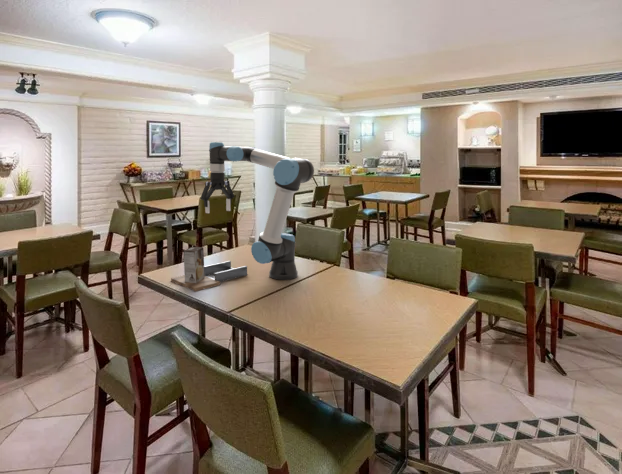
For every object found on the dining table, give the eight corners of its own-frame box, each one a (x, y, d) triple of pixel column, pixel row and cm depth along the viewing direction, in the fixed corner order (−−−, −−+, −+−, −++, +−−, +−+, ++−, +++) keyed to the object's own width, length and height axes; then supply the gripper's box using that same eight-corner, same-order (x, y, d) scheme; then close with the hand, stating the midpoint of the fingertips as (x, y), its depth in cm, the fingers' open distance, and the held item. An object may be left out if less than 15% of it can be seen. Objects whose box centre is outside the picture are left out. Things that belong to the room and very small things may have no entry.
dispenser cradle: (247, 275, 222) (247, 266, 221) (216, 283, 207) (215, 273, 206) (229, 269, 231) (229, 260, 230) (199, 276, 217) (198, 267, 216)
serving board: (220, 284, 205) (220, 281, 204) (195, 291, 194) (195, 288, 194) (195, 275, 219) (195, 272, 219) (171, 281, 209) (170, 278, 208)
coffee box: (193, 276, 211) (192, 246, 208) (204, 278, 210) (204, 247, 207) (184, 282, 202) (183, 250, 199) (196, 283, 201) (195, 251, 198)
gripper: (231, 171, 230) (232, 209, 234) (192, 172, 211) (194, 213, 216) (240, 171, 225) (240, 210, 229) (201, 172, 206) (202, 214, 211)
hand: (218, 211), depth 222 cm, fingers open, 13 cm apart
